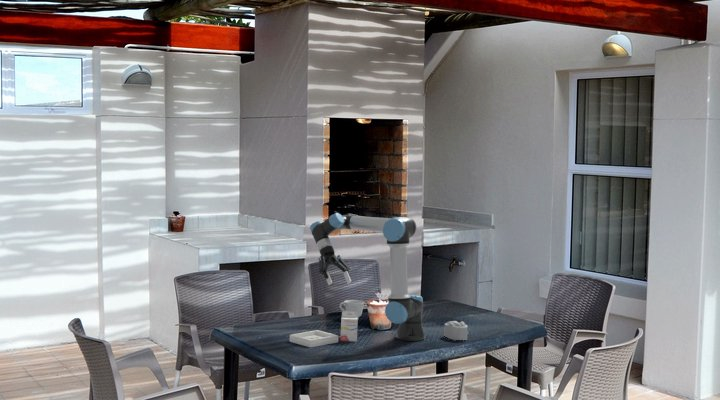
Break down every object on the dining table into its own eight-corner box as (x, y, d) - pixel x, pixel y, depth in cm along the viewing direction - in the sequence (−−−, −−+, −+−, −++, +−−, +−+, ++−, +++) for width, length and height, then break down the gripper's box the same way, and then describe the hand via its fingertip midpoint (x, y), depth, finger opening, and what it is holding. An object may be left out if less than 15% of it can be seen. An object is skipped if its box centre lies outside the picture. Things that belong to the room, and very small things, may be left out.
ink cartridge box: (340, 341, 461) (341, 312, 460) (340, 339, 466) (341, 311, 465) (357, 341, 461) (358, 313, 460) (356, 339, 466) (357, 311, 465)
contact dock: (338, 342, 458) (338, 335, 458) (310, 347, 445) (310, 340, 445) (317, 336, 470) (317, 330, 469) (289, 341, 456) (289, 334, 456)
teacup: (335, 317, 522) (336, 300, 522) (359, 316, 528) (360, 299, 527) (342, 321, 511) (343, 304, 510) (367, 320, 516) (367, 303, 516)
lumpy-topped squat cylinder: (456, 334, 485) (457, 319, 485) (471, 339, 474) (472, 323, 474) (441, 336, 480) (441, 320, 479) (456, 341, 469) (457, 325, 468)
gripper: (338, 251, 490) (353, 285, 481) (304, 252, 472) (318, 288, 464) (346, 244, 485) (361, 278, 477) (312, 245, 468) (326, 280, 459)
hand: (340, 283), depth 470 cm, fingers open, 13 cm apart
